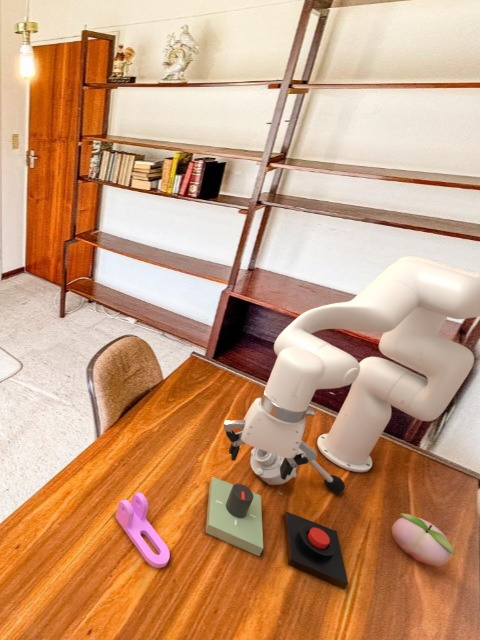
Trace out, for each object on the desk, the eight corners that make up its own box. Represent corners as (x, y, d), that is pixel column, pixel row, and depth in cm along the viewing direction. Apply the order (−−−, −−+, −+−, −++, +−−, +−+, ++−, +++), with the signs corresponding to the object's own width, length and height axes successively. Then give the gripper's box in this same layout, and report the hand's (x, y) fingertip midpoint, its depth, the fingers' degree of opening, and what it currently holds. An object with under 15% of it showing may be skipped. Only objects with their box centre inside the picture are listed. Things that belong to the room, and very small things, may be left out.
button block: (283, 516, 94) (288, 506, 93) (333, 536, 91) (339, 526, 89) (287, 565, 85) (294, 553, 83) (344, 589, 81) (351, 578, 79)
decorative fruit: (444, 562, 86) (468, 533, 82) (431, 583, 82) (456, 555, 78) (391, 525, 93) (410, 497, 89) (377, 544, 89) (397, 515, 85)
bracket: (115, 517, 93) (119, 498, 90) (134, 508, 95) (138, 488, 92) (154, 572, 82) (160, 552, 79) (174, 560, 85) (180, 540, 82)
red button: (306, 529, 88) (309, 524, 87) (325, 537, 87) (328, 532, 86) (308, 544, 85) (311, 539, 85) (328, 552, 84) (331, 547, 83)
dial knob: (225, 497, 95) (232, 479, 93) (246, 505, 94) (253, 487, 91) (225, 512, 92) (232, 495, 89) (246, 521, 90) (254, 503, 87)
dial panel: (209, 484, 102) (212, 476, 100) (257, 503, 97) (261, 494, 96) (205, 532, 90) (208, 524, 89) (259, 556, 86) (263, 547, 85)
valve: (295, 520, 104) (356, 506, 96) (247, 475, 100) (307, 456, 93) (284, 485, 112) (339, 468, 104) (239, 442, 109) (293, 422, 101)
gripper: (330, 409, 79) (300, 468, 86) (235, 380, 86) (215, 438, 93) (337, 434, 73) (305, 496, 80) (235, 401, 79) (213, 461, 87)
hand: (257, 465), depth 86 cm, fingers open, 9 cm apart
